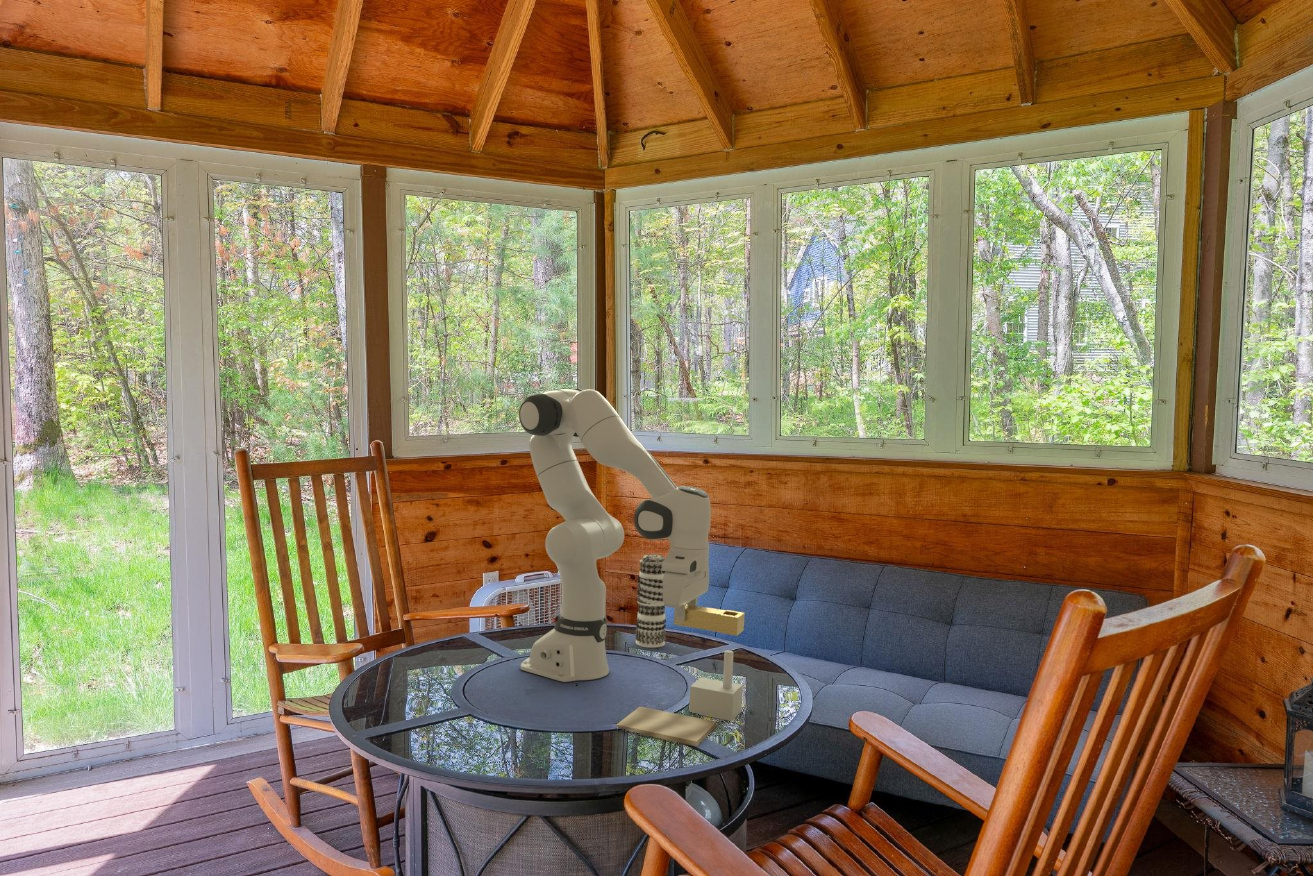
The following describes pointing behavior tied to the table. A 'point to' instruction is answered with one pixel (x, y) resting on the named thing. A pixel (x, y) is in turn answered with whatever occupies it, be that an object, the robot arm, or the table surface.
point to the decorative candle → (650, 603)
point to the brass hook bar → (713, 620)
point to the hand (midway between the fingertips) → (685, 619)
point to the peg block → (717, 694)
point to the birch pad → (667, 725)
